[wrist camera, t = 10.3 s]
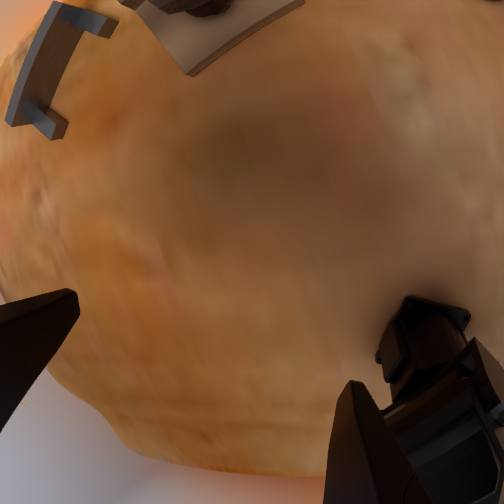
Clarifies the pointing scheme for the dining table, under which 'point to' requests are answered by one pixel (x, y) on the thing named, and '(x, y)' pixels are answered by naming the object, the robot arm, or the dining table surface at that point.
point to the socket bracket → (51, 66)
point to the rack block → (208, 28)
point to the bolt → (192, 6)
